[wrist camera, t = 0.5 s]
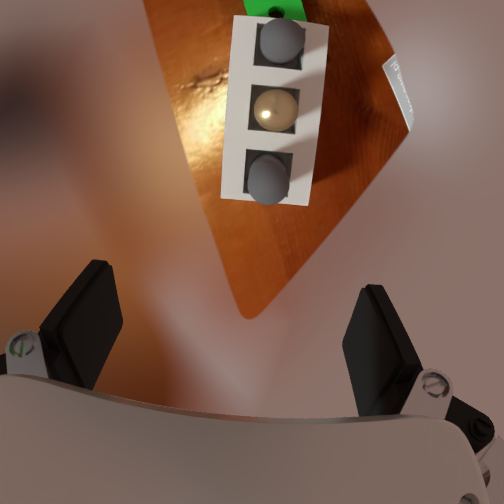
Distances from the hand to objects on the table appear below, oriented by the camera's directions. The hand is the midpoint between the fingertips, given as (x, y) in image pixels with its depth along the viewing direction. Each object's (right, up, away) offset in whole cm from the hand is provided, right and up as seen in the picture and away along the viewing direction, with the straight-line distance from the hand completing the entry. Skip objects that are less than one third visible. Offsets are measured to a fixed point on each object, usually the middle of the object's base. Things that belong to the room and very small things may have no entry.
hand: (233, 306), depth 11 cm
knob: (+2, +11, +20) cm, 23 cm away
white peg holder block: (+3, +18, +21) cm, 28 cm away
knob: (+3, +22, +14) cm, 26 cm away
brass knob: (+3, +16, +17) cm, 24 cm away
